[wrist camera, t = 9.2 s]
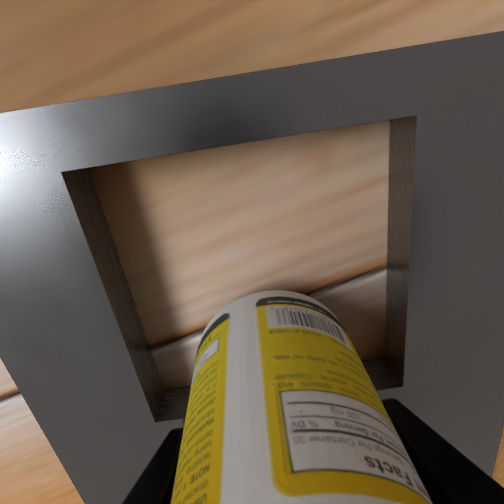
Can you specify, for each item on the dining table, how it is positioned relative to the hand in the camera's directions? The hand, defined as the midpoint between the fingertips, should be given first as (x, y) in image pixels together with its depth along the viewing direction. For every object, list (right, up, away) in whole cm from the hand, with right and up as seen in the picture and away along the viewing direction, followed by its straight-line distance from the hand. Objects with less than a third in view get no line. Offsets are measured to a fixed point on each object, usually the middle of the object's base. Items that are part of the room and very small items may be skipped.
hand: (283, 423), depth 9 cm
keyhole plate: (0, -1, +4) cm, 5 cm away
